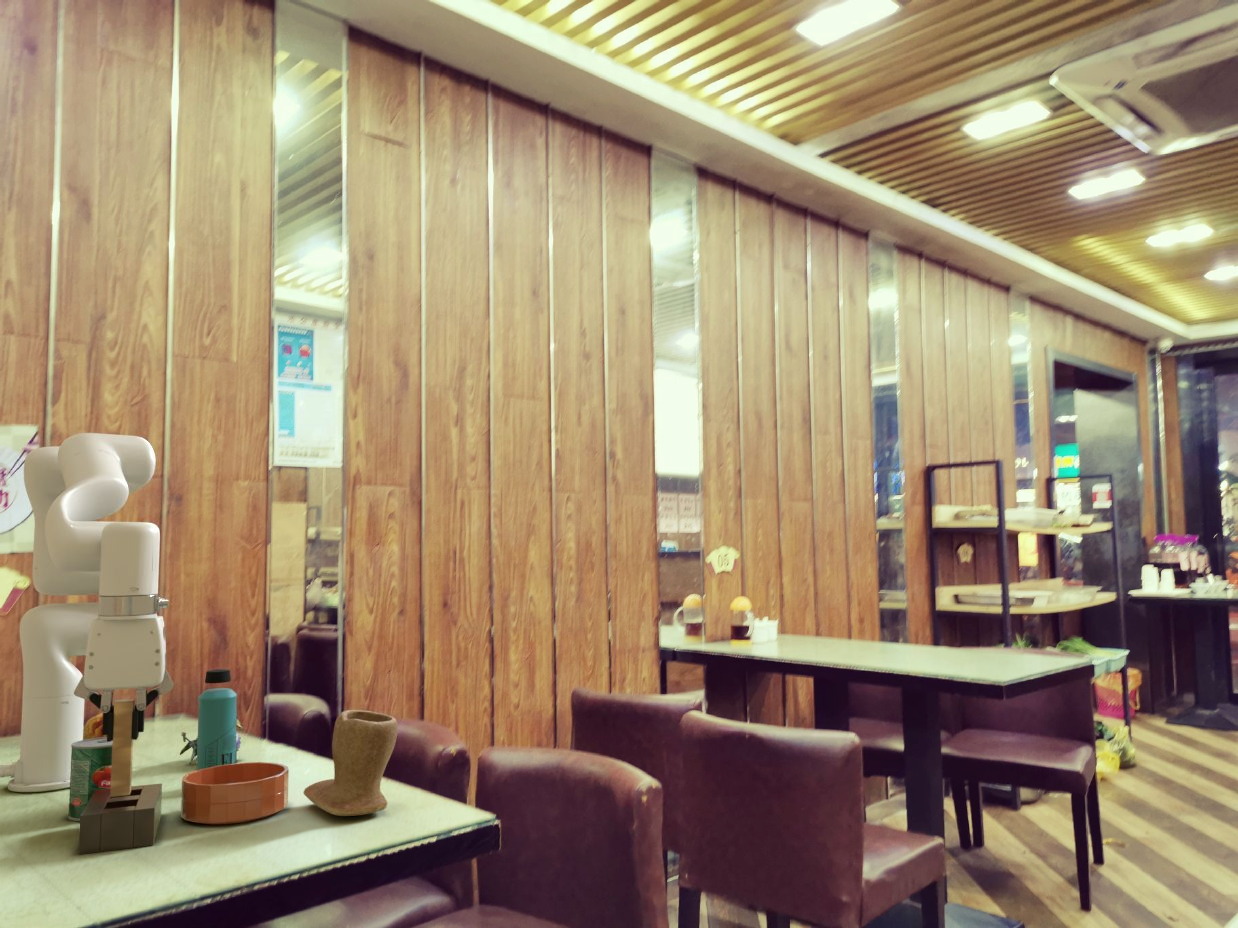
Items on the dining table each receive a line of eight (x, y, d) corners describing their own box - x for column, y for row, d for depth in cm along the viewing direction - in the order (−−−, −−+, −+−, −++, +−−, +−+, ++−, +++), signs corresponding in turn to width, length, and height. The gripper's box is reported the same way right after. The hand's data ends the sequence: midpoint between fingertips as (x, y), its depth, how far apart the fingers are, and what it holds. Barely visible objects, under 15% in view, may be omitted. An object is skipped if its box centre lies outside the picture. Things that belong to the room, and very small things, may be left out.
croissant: (82, 751, 208) (64, 721, 206) (127, 725, 214) (110, 695, 212) (105, 764, 192) (86, 732, 190) (152, 735, 198) (134, 703, 196)
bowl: (178, 832, 133) (179, 789, 134) (183, 806, 147) (184, 767, 147) (290, 819, 139) (291, 778, 139) (284, 795, 153) (285, 758, 153)
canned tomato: (115, 819, 140) (118, 745, 141) (59, 822, 139) (62, 747, 140) (133, 805, 148) (136, 735, 149) (80, 808, 147) (83, 737, 148)
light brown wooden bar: (110, 796, 129) (114, 702, 130) (112, 792, 131) (116, 699, 132) (129, 795, 130) (133, 700, 131) (131, 791, 132) (134, 698, 133)
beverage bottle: (221, 792, 155) (224, 671, 157) (186, 791, 157) (189, 671, 159) (244, 783, 162) (246, 667, 164) (210, 782, 163) (213, 667, 165)
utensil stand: (78, 854, 124) (79, 815, 124) (93, 824, 138) (95, 789, 138) (153, 845, 127) (154, 807, 128) (160, 816, 141) (162, 783, 142)
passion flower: (232, 789, 179) (247, 743, 175) (171, 785, 174) (185, 738, 170) (234, 747, 189) (249, 702, 184) (177, 742, 184) (190, 696, 180)
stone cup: (407, 813, 141) (408, 712, 142) (329, 826, 134) (331, 721, 136) (374, 793, 154) (375, 701, 155) (301, 804, 147) (303, 708, 148)
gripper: (190, 604, 139) (186, 729, 138) (67, 608, 133) (61, 738, 131) (188, 607, 132) (184, 738, 131) (59, 611, 126) (52, 749, 125)
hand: (123, 737), depth 131 cm, fingers closed on light brown wooden bar, 2 cm apart
